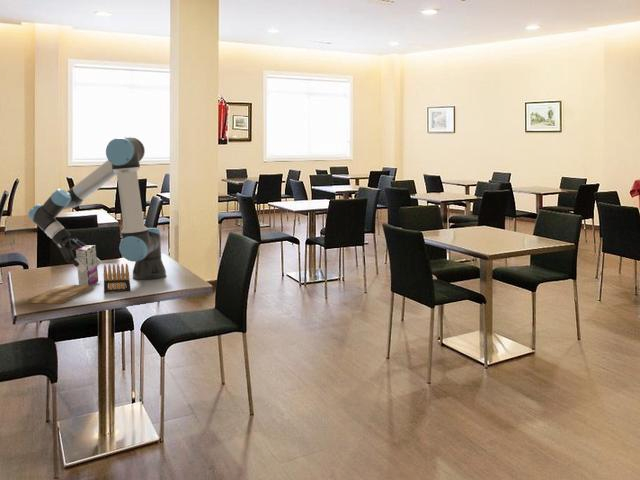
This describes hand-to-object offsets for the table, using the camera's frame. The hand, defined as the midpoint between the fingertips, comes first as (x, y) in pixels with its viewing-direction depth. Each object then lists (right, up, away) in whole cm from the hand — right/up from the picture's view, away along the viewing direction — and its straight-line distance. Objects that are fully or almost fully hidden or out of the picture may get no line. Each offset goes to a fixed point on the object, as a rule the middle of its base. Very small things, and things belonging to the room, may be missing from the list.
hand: (92, 267), depth 272 cm
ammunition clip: (+16, -10, -14) cm, 23 cm away
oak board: (-5, -11, -20) cm, 23 cm away
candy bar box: (-2, -7, +2) cm, 8 cm away
